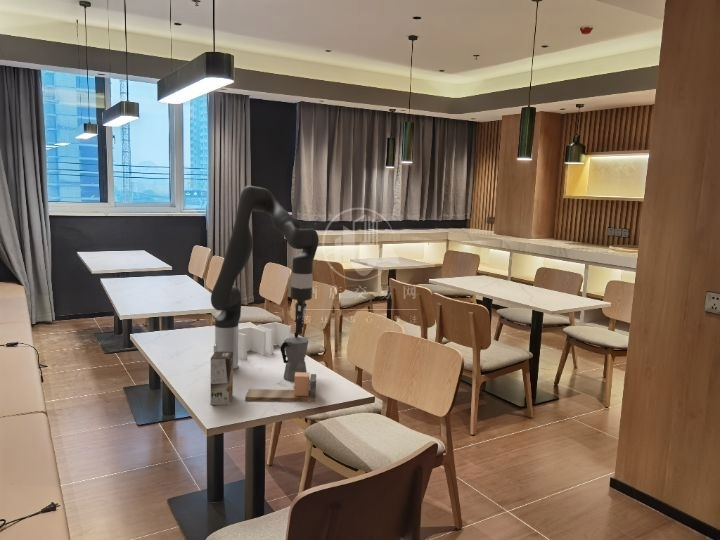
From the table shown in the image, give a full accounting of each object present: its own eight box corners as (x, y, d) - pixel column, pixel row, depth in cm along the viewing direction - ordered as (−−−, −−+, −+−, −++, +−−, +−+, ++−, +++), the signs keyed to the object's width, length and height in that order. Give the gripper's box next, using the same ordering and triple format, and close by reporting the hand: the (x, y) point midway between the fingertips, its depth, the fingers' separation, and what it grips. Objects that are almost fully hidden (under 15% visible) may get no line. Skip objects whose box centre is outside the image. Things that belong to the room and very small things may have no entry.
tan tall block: (294, 395, 201) (294, 376, 200) (294, 391, 205) (295, 372, 204) (308, 395, 201) (309, 376, 200) (309, 391, 205) (309, 372, 204)
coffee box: (229, 405, 194) (229, 358, 191) (210, 405, 193) (210, 358, 191) (233, 395, 203) (233, 351, 200) (214, 395, 202) (214, 350, 200)
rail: (245, 400, 198) (245, 380, 197) (248, 392, 206) (248, 372, 205) (315, 401, 200) (315, 381, 199) (315, 393, 207) (316, 374, 206)
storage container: (275, 345, 270) (275, 322, 269) (290, 350, 263) (290, 326, 261) (229, 354, 252) (230, 330, 251) (244, 360, 245) (244, 335, 243)
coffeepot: (296, 371, 232) (297, 327, 229) (315, 376, 227) (316, 331, 224) (271, 381, 219) (271, 335, 216) (290, 386, 214) (291, 339, 211)
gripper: (292, 281, 209) (290, 324, 212) (289, 288, 195) (287, 335, 198) (313, 282, 210) (311, 325, 212) (311, 289, 195) (309, 336, 198)
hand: (299, 330), depth 205 cm, fingers open, 8 cm apart
